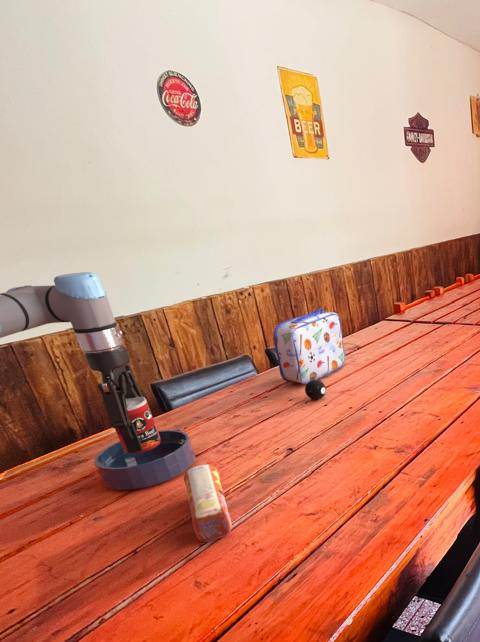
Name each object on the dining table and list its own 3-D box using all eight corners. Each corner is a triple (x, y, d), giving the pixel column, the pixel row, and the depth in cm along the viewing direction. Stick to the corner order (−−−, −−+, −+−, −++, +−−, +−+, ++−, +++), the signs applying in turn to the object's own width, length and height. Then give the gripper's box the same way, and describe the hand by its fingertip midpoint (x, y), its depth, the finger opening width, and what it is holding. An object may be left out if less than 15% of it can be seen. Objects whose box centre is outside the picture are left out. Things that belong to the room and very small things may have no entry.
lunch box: (329, 361, 192) (318, 302, 182) (352, 363, 189) (342, 303, 179) (279, 387, 169) (263, 321, 160) (305, 390, 166) (290, 323, 156)
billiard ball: (315, 394, 162) (311, 376, 159) (331, 396, 160) (327, 378, 157) (303, 401, 157) (299, 383, 154) (319, 403, 155) (315, 384, 152)
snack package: (236, 534, 97) (226, 505, 94) (197, 547, 94) (186, 517, 91) (222, 486, 114) (214, 459, 111) (190, 495, 111) (180, 468, 108)
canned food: (130, 457, 114) (112, 412, 110) (119, 447, 119) (101, 404, 114) (166, 444, 119) (151, 401, 115) (154, 435, 124) (139, 393, 119)
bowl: (83, 489, 116) (73, 466, 113) (149, 449, 133) (141, 428, 130) (155, 495, 112) (145, 471, 109) (213, 453, 129) (206, 431, 126)
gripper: (107, 359, 101) (147, 460, 111) (137, 334, 119) (169, 422, 129) (63, 365, 99) (108, 466, 109) (101, 338, 117) (136, 427, 127)
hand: (141, 442), depth 119 cm, fingers closed on canned food, 8 cm apart
